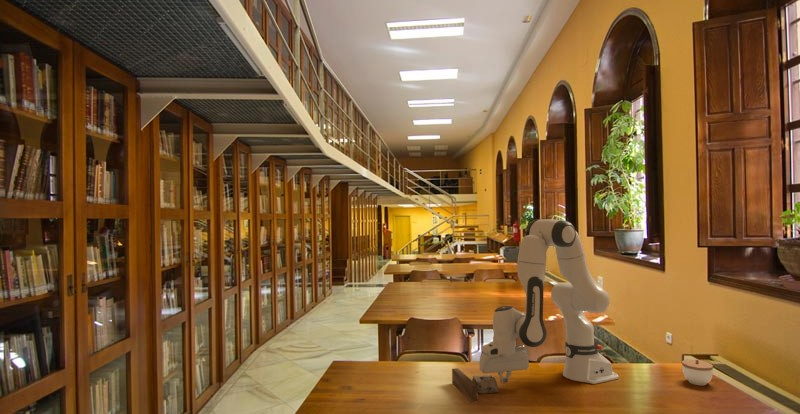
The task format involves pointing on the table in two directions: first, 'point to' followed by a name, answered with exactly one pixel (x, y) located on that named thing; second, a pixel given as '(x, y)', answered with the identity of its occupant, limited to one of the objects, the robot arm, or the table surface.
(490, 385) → the stone
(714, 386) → the table surface
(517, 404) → the table surface
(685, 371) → the lidded jar
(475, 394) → the board
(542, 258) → the robot arm
